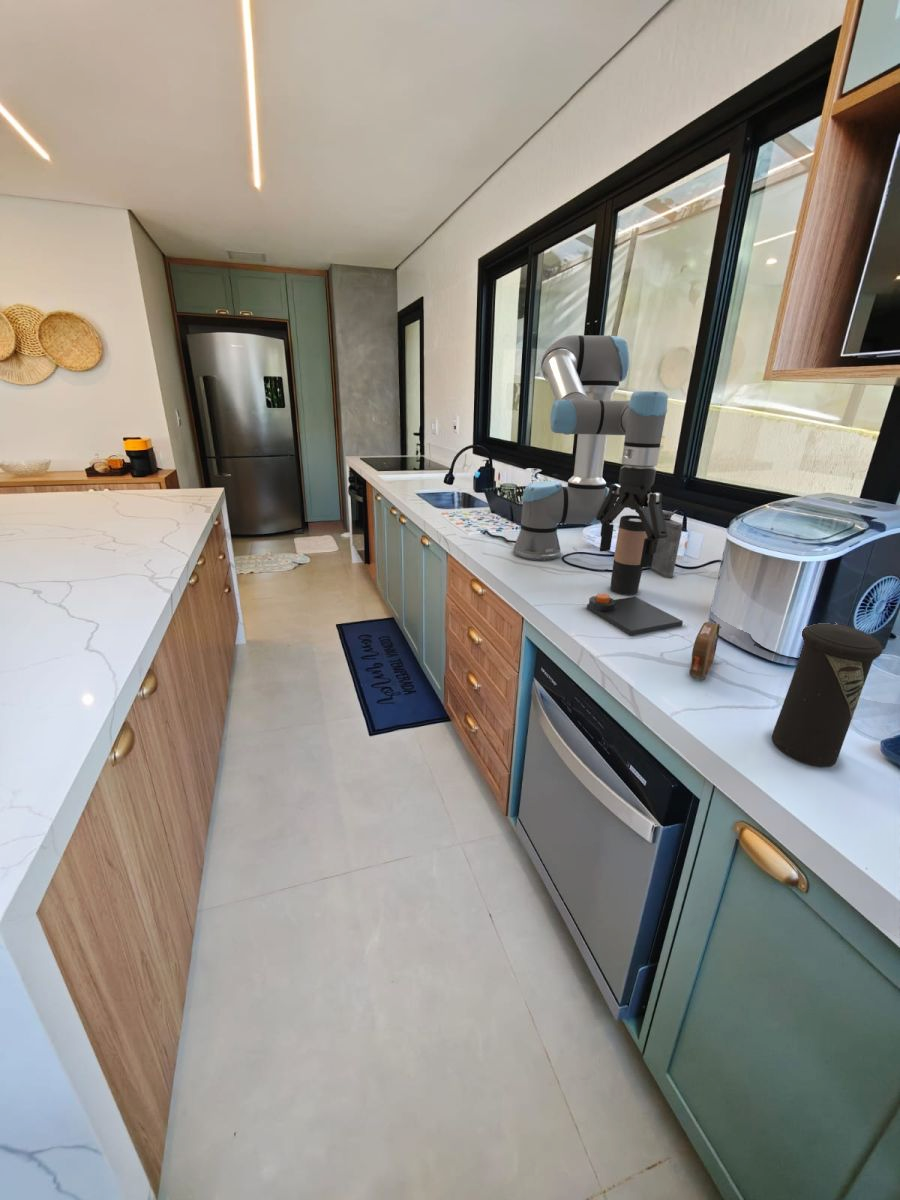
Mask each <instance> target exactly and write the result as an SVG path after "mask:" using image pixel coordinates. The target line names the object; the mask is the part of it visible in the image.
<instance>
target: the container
mask: <svg viewBox="0 0 900 1200" xmlns="http://www.w3.org/2000/svg"><path fill="white" fill-rule="evenodd" d="M802 637H803V640H804V645H803V648H802V651H801V654H800V657H799V659H797V664H796V666H795V669H794V672H793V675H792V678H791V681H790V683H789V687H788V689H787V691H786V692H787V693H786V695H785V698H784V701H783V703H782V705H781V709H780V711H779V713H778V714H779V715H778V717H777V719H776V723H775V725H774V728H773V731H772V734H771V741H772V743H773V745H774V747H775V748H776V749H777V750H779V751H780V752H781V753H782V754H784V755H786V756H787V757H789V758H791V759H792V760H795V761H796V762H800V763H802V764H805V765H808V766H812V767H817V768H827V767H828V768H829V767H833V766H834V765H835V764H836V763H837V761H838V759H839V756H840V753H841V750H842V747H843V745H844V742H845V739H846V737H847V733H848V731H849V728H850V725H851V722H852V719H853V717H854V713H855V711H856V709H857V705H858V702H859V700H860V697H861V694H862V691H863V690H864V686H865V683H866V681H867V678H868V675H869V673H870V670H871V668H872V664H873V662H874V661H875V660H876V659H877V658H879V657H880V656H881V655H882V653H883V646H882V644H881V642H879V640H878V639H877V638H875V637H874V636H872V635H871V634H869V633H868V632H865V631H862V630H860V629H857V628H854V627H851V626H847V625H843V624H839V623H836V624H830V623H818V624H813V625H810V626H807V627H805V628H804V629H803V631H802Z"/></svg>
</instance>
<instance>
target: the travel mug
mask: <svg viewBox="0 0 900 1200" xmlns="http://www.w3.org/2000/svg"><path fill="white" fill-rule="evenodd" d="M616 536H617V537H616V543H615V550H614V555H613V562H612V569H611V579H610V587H609V588H610V591H611V592H612V593H614V594H618V595H621V596H635V595H637V593H638V592H639V588H640V582H641V577H642V573H643V568H642V567H640V563H641V557H642V551H643V545H644V539H646V538H647V534H646V532H645V529H644V527H643V524H642V522H641V519H640V516H639V515H635V514H634V515H632V514H630V515H629V514H628V515H622V516H620V519H619V524H618V531H617V535H616Z"/></svg>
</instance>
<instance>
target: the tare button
mask: <svg viewBox="0 0 900 1200" xmlns="http://www.w3.org/2000/svg"><path fill="white" fill-rule="evenodd" d="M595 596H596V602H599V603H605V604H606V603H609V601H610V598H611V596H610V595H609V594H607V593H597V594H596V595H595Z"/></svg>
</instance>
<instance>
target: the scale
mask: <svg viewBox="0 0 900 1200" xmlns="http://www.w3.org/2000/svg"><path fill="white" fill-rule="evenodd" d="M586 610H587V611H589V612H590V613H592V614H594V615H596V616H597V617H599V618H600V619H602V620H604V621H605V622H607V623H608V624H610V625H612V626H613V627H615V628H617V629H619V630H620V631H621V632H623V633H624V634H626V635H628V636H630V637H634V636H639V635H644V634H648V633H654V632H658V631H659V632H660V631H665V630H670V629H674V628H679V627H682V626H683V623H684V621H683V620H682V619H680V618H677V617H676V616H675V615H674V616H673V615H672V614H670V613H668V612H666V611H664V610H662V609H661V608H659V607H656V606H654V605H653V604H650V603H649V602H647V601H645V600H643V599H641V598H639V597H637V596H630V597H623V598H617V599H614V598H612V597H610V601H609V603H606V604H605V603H599V602H596V595H592V596H591V597H589V598H588V603H587V604H586Z"/></svg>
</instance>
